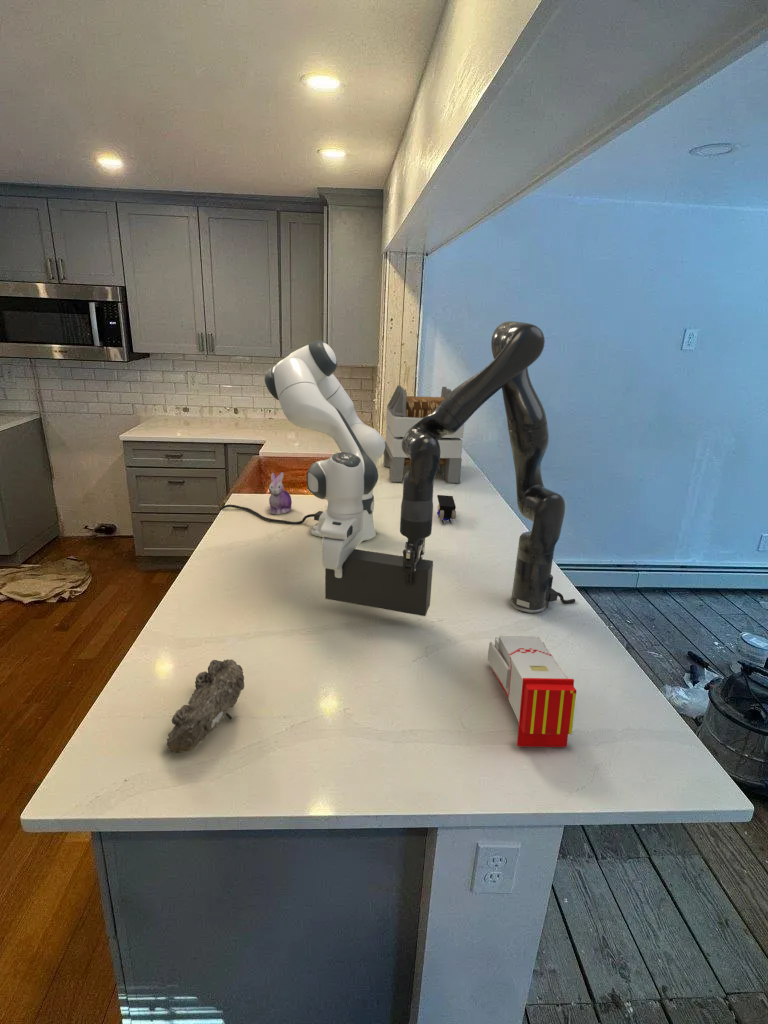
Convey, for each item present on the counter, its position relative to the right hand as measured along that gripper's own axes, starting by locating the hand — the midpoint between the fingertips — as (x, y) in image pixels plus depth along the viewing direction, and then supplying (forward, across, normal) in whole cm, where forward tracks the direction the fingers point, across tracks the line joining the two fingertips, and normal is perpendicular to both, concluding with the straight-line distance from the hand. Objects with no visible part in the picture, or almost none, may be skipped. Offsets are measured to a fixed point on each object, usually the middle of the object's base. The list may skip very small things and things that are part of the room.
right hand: (412, 579), depth 139 cm
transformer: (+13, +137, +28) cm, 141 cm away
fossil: (+12, -46, +28) cm, 55 cm away
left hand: (+1, 0, +18) cm, 18 cm away
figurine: (+12, +63, +66) cm, 92 cm away
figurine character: (+13, +79, +5) cm, 80 cm away
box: (+8, 0, +9) cm, 12 cm away
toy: (+13, -21, -29) cm, 38 cm away
